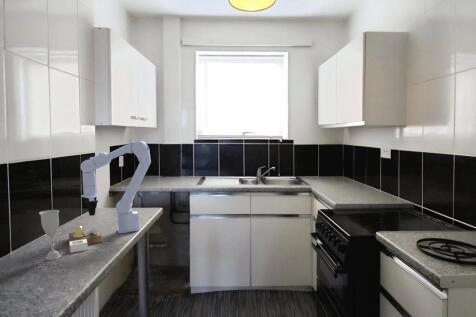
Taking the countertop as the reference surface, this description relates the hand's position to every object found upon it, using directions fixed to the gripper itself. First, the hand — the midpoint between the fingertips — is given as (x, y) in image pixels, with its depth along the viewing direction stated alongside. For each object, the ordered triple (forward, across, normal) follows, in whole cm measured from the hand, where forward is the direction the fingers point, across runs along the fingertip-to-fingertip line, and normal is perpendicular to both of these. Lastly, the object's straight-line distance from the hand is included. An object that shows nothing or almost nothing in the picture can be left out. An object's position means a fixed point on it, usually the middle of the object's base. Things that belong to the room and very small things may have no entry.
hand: (91, 213), depth 172 cm
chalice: (+10, +28, -16) cm, 34 cm away
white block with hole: (+10, +22, -7) cm, 25 cm away
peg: (+6, +14, -6) cm, 17 cm away
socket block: (+9, +12, -4) cm, 15 cm away
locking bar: (+6, +10, -2) cm, 12 cm away
